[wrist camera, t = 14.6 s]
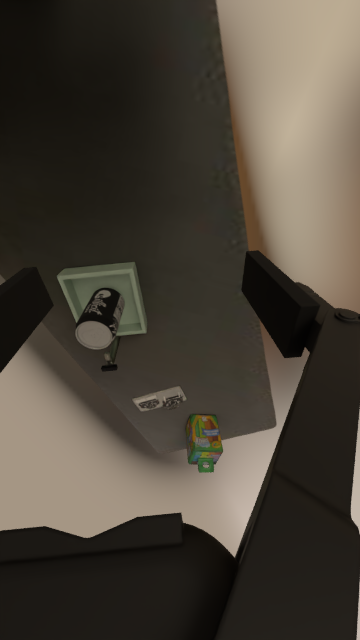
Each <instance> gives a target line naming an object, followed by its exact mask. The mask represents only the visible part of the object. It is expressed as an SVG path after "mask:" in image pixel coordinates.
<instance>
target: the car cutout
mask: <svg viewBox="0 0 360 640" xmlns="http://www.w3.org/2000/svg"><path fill="white" fill-rule="evenodd" d="M132 400H133V402H134V403H135V404H136V405H137V407H138V408H139V409H140V410H141V412H143V411H147V410H151V409H154V408H158V407H162V406H163V407H164V408H166V407H167V408H168V410H171V409H175V408H177V407H178V405H179V404H181V403H182V402H183V401H184V400H187V399H186V397H185V395H184V393H183V391H182V389H181V387H180V386H177V387H173V388H169V389H166V390H162V391H159V392H155V393H151V394H148V395H144V396H141V397H137V398H133V399H132Z"/></svg>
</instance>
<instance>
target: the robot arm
mask: <svg viewBox="0 0 360 640" xmlns="http://www.w3.org/2000/svg"><path fill="white" fill-rule="evenodd" d="M242 292H243V294H244V295H245V297H246V298H247V300H248V301H249V303H250V305H251V306H252V308H253V309H254V311H255V312H256V314H257V316H258V317H259V319H260V320H261V322H262V323H263V325H264V326H265V328H266V330H267V331H268V333H269V334H270V336H271V338H272V339H273V341H274V342H275V344H276V345H277V347H278V348H279V350H280V352H281V353H282V355H283V356H284V358H292V357H301V356H302V353H303V350H304V348H305V347H306V348H307V350H308V351H309V352H310V355H309V357H308V360H307V362H306V364H305V367H304V370H303V373H302V376H301V379H300V382H299V384H298V387H297V390H296V393H295V395H294V398H293V401H292V404H291V406H290V409H289V412H288V415H287V417H286V420H285V423H284V426H283V429H282V431H281V434H280V437H279V439H278V442H277V445H276V448H275V451H274V453H273V456H272V459H271V462H270V464H269V467H268V470H267V473H266V476H265V478H264V481H263V484H262V487H261V489H260V492H259V495H258V497H257V500H256V503H255V506H254V508H253V511H252V513H251V516H250V519H249V521H248V524H247V526H246V529H245V532H244V535H243V537H242V540H241V543H240V545H239V548H238V551H237V554H236V556H235V558H234V557H233V555H232V554H231V553H230V552H229V551H228V550H227V549H226V548H225V547H224V546H223V545H222V544H221V543H220V542H219V541H218V540H217V539H215V538H214V537H213V536H211V535H210V534H208V533H207V532H205V531H204V530H202V529H199V528H197V527H195V526H193V525H189V524H186V523H183V521H182V515H181V513H173V514H162V515H153V516H143V517H136V518H134V519H132V520H130V521H127V522H125V523H123V524H120V525H118V526H116V527H114V528H112V529H109V530H107V531H105V532H103V533H100V534H98V535H96V536H93V537H91V538H83V537H80V536H76V535H73V534H70V533H66V532H63V531H59V530H56V529H52V528H49V527H46V526H43V527H33V528H24V529H13V530H3V531H0V640H356V637H357V636H356V635H357V618H358V601H359V582H360V534H359V530H358V527H357V526H356V525H355V523H354V522H353V520H352V518H351V496H352V486H353V474H354V464H355V453H356V442H357V441H356V440H357V431H358V420H359V409H360V408H359V407H360V314H358V313H356V312H354V311H351V310H347V309H341V308H336V309H335V308H333V307H332V306H331V305H330V304H329V303H327V302H326V301H325V300H324V299H323V298H321V297H319V295H318V294H316V293H314V291H313V290H312V289H310V288H309V287H308V286H306V285H303V284H301V283H299V282H296V283H295V282H294V281H292V280H291V279H290V278H289V277H288V276H287V275H286V274H284V273H283V272H282V271H281V270H280V269H278V267H276V266H275V265H274V264H273V263H272V262H271V261H270V260H269V259H267V258H266V257H265V256H264V255H263V254H262V253H261V252H259V251H246V258H245V266H244V274H243V282H242ZM53 306H54V305H53V302H52V300H51V298H50V296H49V294H48V292H47V289H46V287H45V285H44V283H43V281H42V279H41V276H40V274H39V272H38V270H37V268H36V267H33V268H23V269H22V270H21V271H19V272H18V273H17V274H15V275H14V276H12V277H11V278H10V279H8V280H7V281H6V282H4V283H3V284H1V285H0V373H1V372H2V370H3V369H4V368H5V367H6V365H7V364H8V363H9V361H10V360H11V359H12V357H13V356H14V355H15V354H16V353H17V351H18V350H19V348H20V347H21V346H22V345H23V343H24V342H25V341H26V340H27V339H28V337H29V336H30V335H31V334H32V332H33V331H34V330H35V328H36V327H37V326H38V325H39V323H40V322H41V321H42V320H43V318H44V317H45V316H46V315H47V313H48V312H49V311H50V309H51V308H52V307H53Z"/></svg>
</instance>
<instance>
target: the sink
mask: <svg viewBox="0 0 360 640" xmlns="http://www.w3.org/2000/svg"><path fill="white" fill-rule="evenodd" d="M57 278H58V280H59V283H60V285H61V287H62V290H63V292H64V294H65V297H66V299H67V301H68V304H69V306H70V308H71V311H72V313H73V315H74V317H75V320H76V322H77V321H78V320H79V318H80V316H81V314H82V313H83V311H84V309H85V307H86V305H87V304H88V302H89V300H90V298H91V297H92V295H93V293H94V292H95V291H96V290H98V289H100V288H112V289H114V290H116V291H118V292H119V293H120V294H121V295H122V297H123V299H124V302H125V305H124V309H123V313H122V316H121V320H120V323H119V327H118V330H117V334H116V336H120V335H130V334H140V333H146V332H147V319H146V314H145V309H144V304H143V299H142V294H141V289H140V284H139V279H138V274H137V269H136V264H135V262H128V263H118V264H108V265H97V266H87V267H77V268H66V269H63V270H62V271H61V272H60V273H59V274H58V275H57Z"/></svg>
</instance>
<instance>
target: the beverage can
mask: <svg viewBox="0 0 360 640" xmlns="http://www.w3.org/2000/svg"><path fill="white" fill-rule="evenodd" d="M124 305H125V302H124V299H123V297H122V295H121V294H120V293H119V292H118V291H116V290H114V289H112V288H100V289H98V290H96V291H95V292H94V293H93V295H92V297H91V298H90V300H89V302H88V304H87V305H86V307H85V309H84V311H83V313H82V314H81V316H80V318H79V320H78V321H77V323H76V338H77V340H78V341H79V342H80V343H81V344H82V345H84V346H85V347H87V348H91V349H103V348H105V347H107V346H108V345H109V344H110V343H111V342H112V341H113V340H114V338H115V337H116V334H117V330H118V327H119V323H120V320H121V316H122V313H123V309H124Z"/></svg>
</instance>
